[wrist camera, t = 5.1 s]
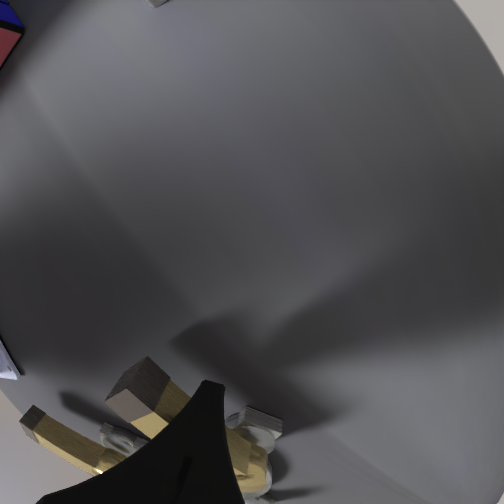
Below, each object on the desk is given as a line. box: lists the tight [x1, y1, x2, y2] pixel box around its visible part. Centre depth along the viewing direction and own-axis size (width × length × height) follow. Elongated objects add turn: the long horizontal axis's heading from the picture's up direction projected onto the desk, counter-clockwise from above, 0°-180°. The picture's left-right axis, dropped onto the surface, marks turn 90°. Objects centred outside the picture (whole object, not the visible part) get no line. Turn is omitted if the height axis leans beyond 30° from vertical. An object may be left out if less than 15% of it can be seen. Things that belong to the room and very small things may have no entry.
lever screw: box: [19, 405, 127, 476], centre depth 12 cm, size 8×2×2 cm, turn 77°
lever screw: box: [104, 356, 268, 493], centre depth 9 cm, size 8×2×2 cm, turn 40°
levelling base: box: [99, 406, 283, 504], centre depth 14 cm, size 13×12×1 cm
